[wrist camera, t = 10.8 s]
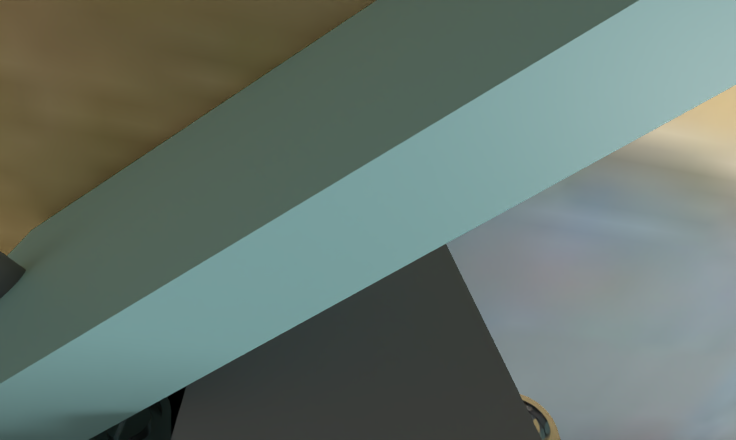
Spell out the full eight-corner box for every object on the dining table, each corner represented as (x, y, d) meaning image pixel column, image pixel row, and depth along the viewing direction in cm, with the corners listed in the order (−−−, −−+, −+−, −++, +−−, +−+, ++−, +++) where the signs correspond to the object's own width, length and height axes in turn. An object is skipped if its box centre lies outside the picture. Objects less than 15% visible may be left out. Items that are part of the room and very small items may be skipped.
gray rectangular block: (419, 189, 12) (571, 500, 5) (378, 347, 15) (438, 681, 8) (249, 170, 11) (149, 513, 4) (241, 342, 14) (174, 710, 7)
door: (508, -19, 10) (848, 22, 4) (71, 260, 12) (-158, 574, 6) (467, -140, 8) (878, -365, 2) (-13, 195, 10) (-416, 510, 5)
